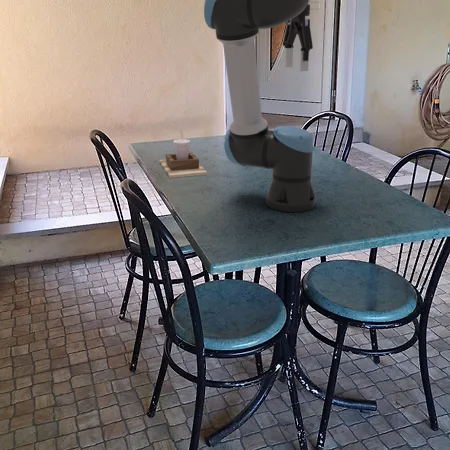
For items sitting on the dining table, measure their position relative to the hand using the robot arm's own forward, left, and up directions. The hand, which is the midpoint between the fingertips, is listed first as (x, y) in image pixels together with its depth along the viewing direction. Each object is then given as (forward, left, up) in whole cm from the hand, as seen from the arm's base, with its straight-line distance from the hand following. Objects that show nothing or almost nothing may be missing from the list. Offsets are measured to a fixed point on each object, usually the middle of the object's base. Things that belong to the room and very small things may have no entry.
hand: (295, 69), depth 185 cm
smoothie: (+14, +39, -36) cm, 55 cm away
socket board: (+14, +39, -37) cm, 55 cm away
